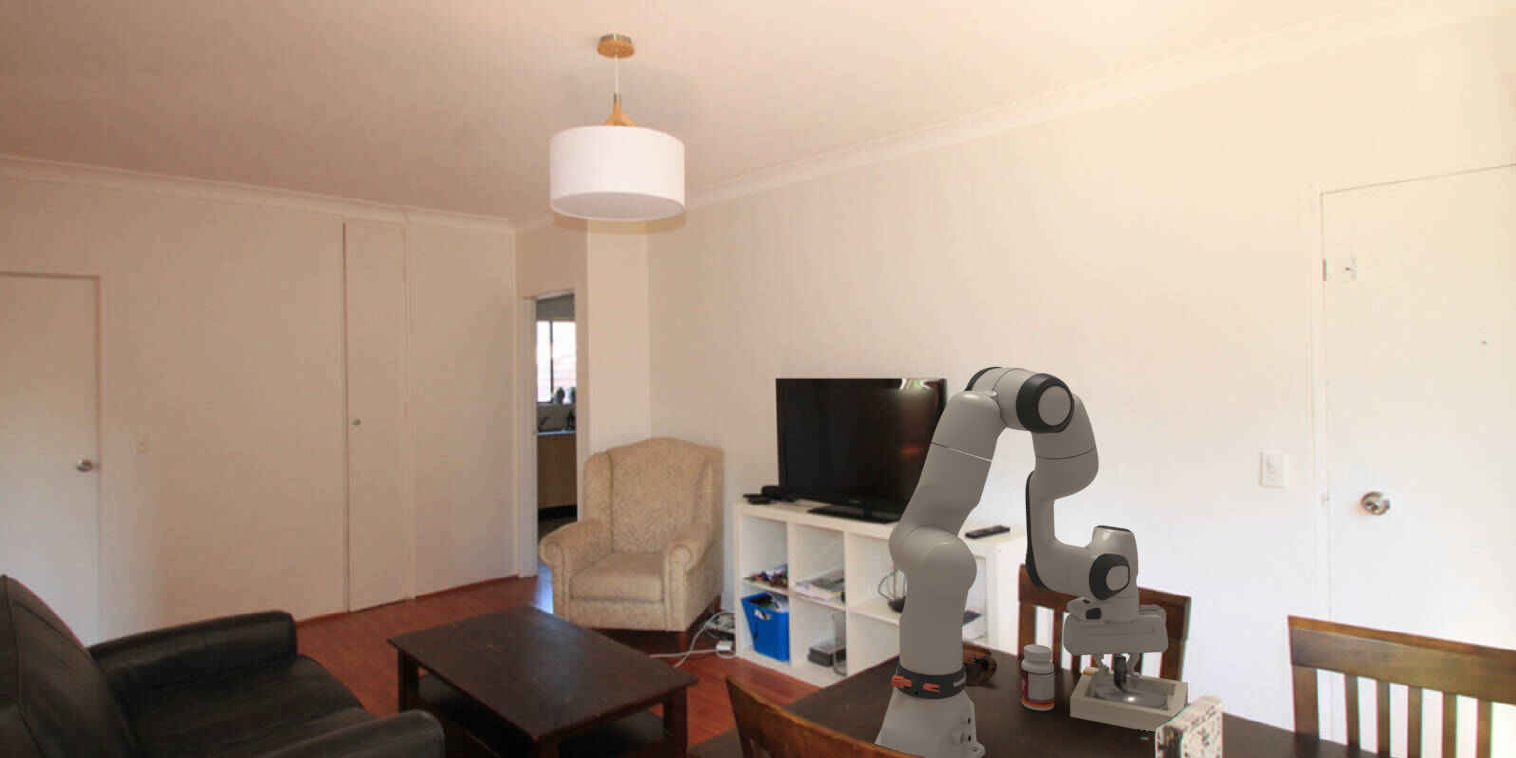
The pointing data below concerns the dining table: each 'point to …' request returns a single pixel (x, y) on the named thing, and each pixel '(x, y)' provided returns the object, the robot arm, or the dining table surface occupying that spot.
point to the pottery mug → (978, 664)
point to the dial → (1129, 689)
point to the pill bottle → (1037, 678)
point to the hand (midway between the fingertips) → (1115, 674)
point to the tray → (1121, 713)
